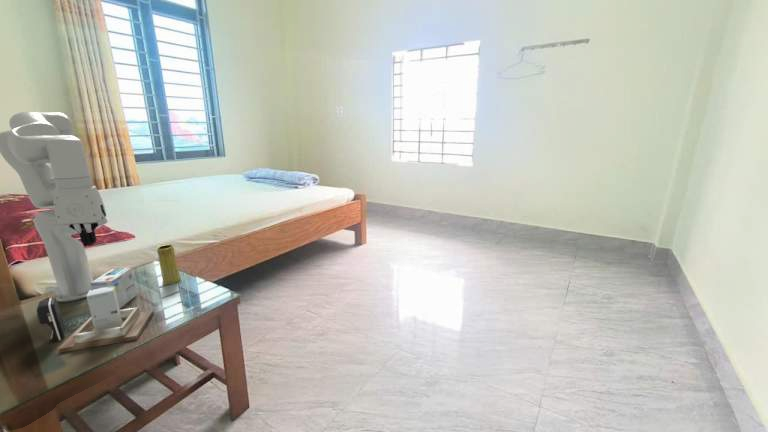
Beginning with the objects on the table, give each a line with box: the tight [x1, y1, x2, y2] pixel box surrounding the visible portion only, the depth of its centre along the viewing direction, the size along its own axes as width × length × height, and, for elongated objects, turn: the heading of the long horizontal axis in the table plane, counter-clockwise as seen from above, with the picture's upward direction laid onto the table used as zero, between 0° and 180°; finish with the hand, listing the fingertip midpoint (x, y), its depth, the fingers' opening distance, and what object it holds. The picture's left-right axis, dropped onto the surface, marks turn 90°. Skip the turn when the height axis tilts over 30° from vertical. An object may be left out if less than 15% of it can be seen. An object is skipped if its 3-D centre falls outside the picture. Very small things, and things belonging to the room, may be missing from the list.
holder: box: [57, 306, 154, 353], centre depth 98 cm, size 18×14×4 cm
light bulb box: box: [90, 267, 138, 309], centre depth 113 cm, size 11×7×11 cm, turn 6°
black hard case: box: [36, 297, 66, 343], centre depth 95 cm, size 7×4×11 cm, turn 40°
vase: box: [156, 244, 182, 285], centre depth 128 cm, size 6×6×14 cm
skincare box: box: [86, 286, 122, 331], centre depth 97 cm, size 6×4×12 cm
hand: (89, 244), depth 98 cm, fingers closed
